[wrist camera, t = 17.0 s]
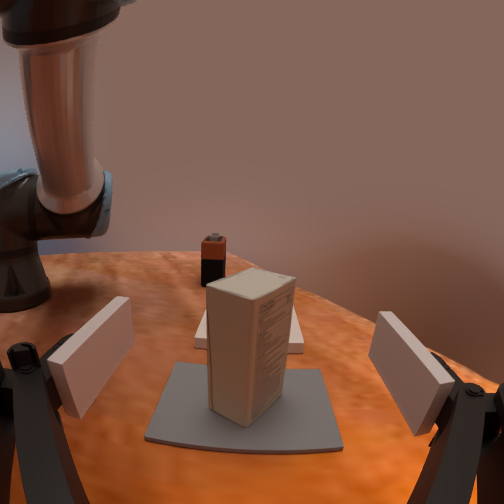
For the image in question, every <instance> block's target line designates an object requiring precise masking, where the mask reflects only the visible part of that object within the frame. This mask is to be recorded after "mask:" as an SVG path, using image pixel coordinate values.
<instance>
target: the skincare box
mask: <svg viewBox="0 0 504 504" xmlns="http://www.w3.org/2000/svg"><path fill="white" fill-rule="evenodd" d="M295 282H296V277H290V276H287V275H282V274H278V273H274V272H270V271H266V270H261V269H258V268H250V269H247V270H244V271H241V272H239V273H236V274H233V275H230V276H227V277H225V278H222V279H219V280H217V281H214V282H211V283H208V284H207V285H206V327H207V328H206V329H207V332H206V334H207V377H208V403H209V408H210V409H212V410H214V411H215V412H217V413H219V414H221V415H222V416H224V417H226V418H228V419H229V420H231V421H233V422H235V423H237V424H239V425H241V426H243V427H248V426H249V425H250V424H251V423H252V422H253V421H255V420H256V419H257V418H258V417H259V416H260V415H261V414H262V413H263V412H264V411H265V410H266V409H267V408H268V407H270V406H271V405H272V404H273V403H274V402H275V401H276V399H277V398H278V397H279V396H280V395H281V394H282V390H283V383H284V375H285V368H286V361H287V353H288V345H289V336H290V328H291V320H292V311H293V302H294V293H295Z"/></svg>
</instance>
